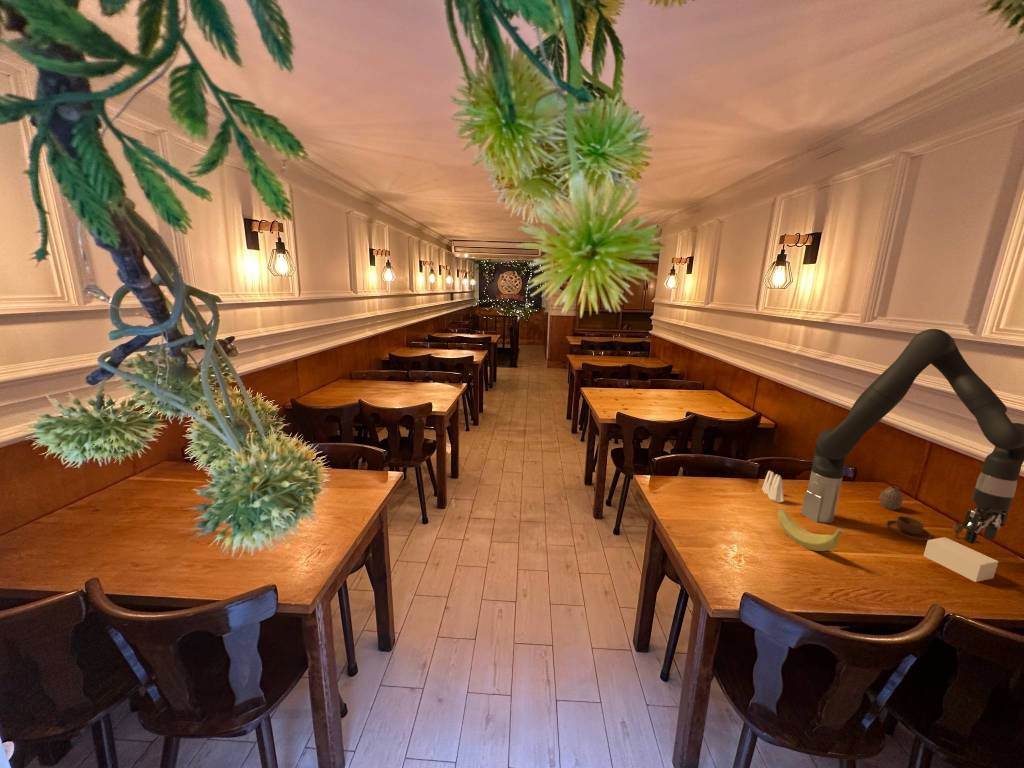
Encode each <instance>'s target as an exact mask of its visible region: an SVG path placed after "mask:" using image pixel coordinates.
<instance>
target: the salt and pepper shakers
mask: <svg viewBox="0 0 1024 768" xmlns="http://www.w3.org/2000/svg"><path fill="white" fill-rule="evenodd" d="M766 473H767V474H766V476H765V478H764V482H763V485H762V487H761V491H762V490H763V491H762V492H764V493H763V494H765V493H766V494H765V495H767V494H768V495H767V497H768V498H769V500H770V501H772V502H774V503H778V504H779V503H783V502H785V499H784V497H785V496H784V484H783V479H782V476H781V475H779V474H778V473H777V474H775V473H774V472H773V471H771V470H768V471H767V472H766Z"/></svg>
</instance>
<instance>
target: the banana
mask: <svg viewBox="0 0 1024 768" xmlns="http://www.w3.org/2000/svg"><path fill="white" fill-rule="evenodd" d="M777 519H778V523H779V525H780V526H781V529H782V530H783V532H784V533H785V534H786V535H787V537H788V538H789V539H790V540H792V541H794V542H795V543H796V544H798V545H800V546H802V547H804V548H806V549H807V550H811V551H816V552H824V551H830V550H833V549H835V548H836V547H837V546H838V544H839V543H838V539H839V537H840V536H841V535H842V534H844V533H845V530H844V529H842V528H839V527H838V528H837V529H836V531H835V533H833V534H820V533H818V534H817V533H813V532H810V531H809V530H806V529H804V527H802V526H800V525H799V524H798V523H797V521H795V520H794V519H793V517H791V515H790V514H789V513H788V512H787V511H786V510H785V509H784V508H783V507H782V508H781V507H780V508H778V510H777Z"/></svg>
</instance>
